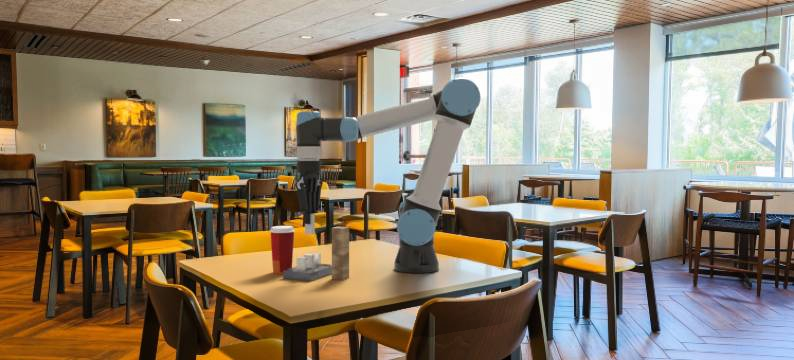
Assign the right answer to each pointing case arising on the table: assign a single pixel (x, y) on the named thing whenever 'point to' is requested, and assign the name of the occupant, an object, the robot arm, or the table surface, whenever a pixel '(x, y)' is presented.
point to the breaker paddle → (310, 260)
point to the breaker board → (308, 269)
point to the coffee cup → (282, 247)
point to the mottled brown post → (340, 253)
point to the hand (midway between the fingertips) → (309, 233)
